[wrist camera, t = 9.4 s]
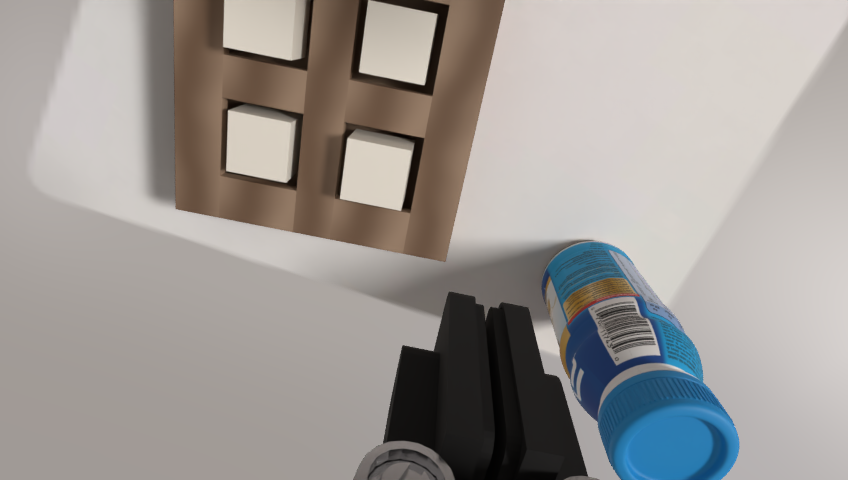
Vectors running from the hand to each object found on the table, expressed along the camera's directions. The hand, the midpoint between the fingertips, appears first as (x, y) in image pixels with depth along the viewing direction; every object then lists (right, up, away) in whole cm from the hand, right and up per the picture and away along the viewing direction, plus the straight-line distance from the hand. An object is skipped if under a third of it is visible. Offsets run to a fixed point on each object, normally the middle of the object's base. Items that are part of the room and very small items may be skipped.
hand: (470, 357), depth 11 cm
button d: (-4, +8, +29) cm, 31 cm away
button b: (-13, +11, +30) cm, 34 cm away
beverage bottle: (+14, -1, +35) cm, 37 cm away
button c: (-12, +18, +25) cm, 33 cm away
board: (-8, +14, +29) cm, 33 cm away
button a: (-3, +17, +27) cm, 32 cm away
